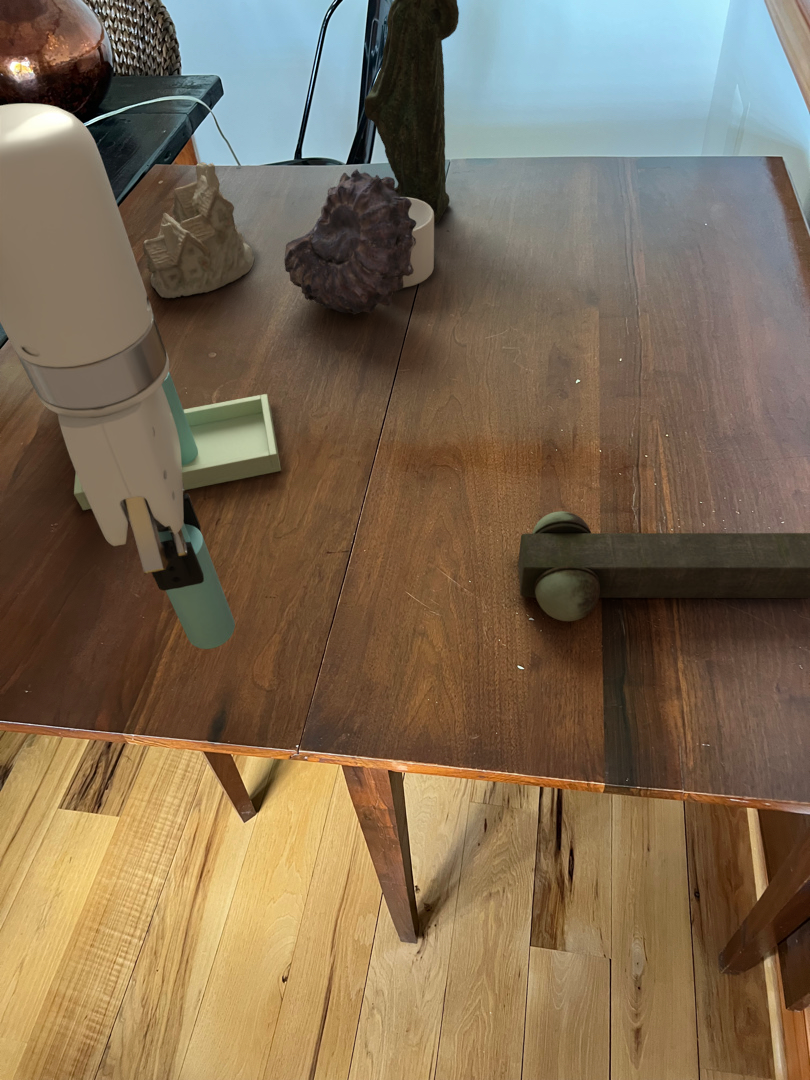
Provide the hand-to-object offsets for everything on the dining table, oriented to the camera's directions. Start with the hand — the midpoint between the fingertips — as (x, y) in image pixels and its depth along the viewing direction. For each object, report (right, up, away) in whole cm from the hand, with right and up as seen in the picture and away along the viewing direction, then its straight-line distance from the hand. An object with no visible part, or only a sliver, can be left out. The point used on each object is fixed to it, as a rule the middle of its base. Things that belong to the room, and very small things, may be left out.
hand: (181, 557), depth 57 cm
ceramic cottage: (-14, +42, +58) cm, 73 cm away
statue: (+18, +53, +64) cm, 85 cm away
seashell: (+13, +41, +45) cm, 62 cm away
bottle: (0, -6, +7) cm, 9 cm away
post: (+43, +2, +15) cm, 46 cm away
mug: (+15, +40, +54) cm, 69 cm away
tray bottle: (-9, +11, +30) cm, 33 cm away
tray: (-9, +11, +30) cm, 33 cm away
